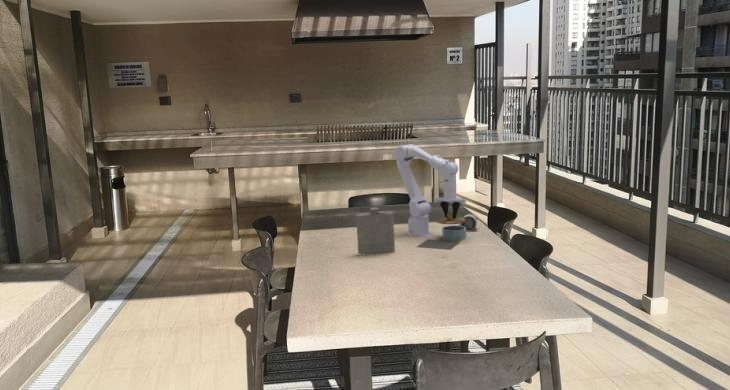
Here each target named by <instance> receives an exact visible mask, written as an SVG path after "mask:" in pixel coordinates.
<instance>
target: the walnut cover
mask: <svg viewBox="0 0 730 390" xmlns="http://www.w3.org/2000/svg"><path fill="white" fill-rule="evenodd" d="M464 222H465V219H463V217H462V218H461V217H456V218H455V219H453V212H448V213H447V218H445V217H440V218H437V219H436V222H435V223H437V224H442V225H459V224H461V223H464Z"/></svg>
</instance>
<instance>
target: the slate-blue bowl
mask: <svg viewBox="0 0 730 390" xmlns="http://www.w3.org/2000/svg"><path fill="white" fill-rule="evenodd" d="M441 232H442V233H441V237H442V239H444V240H447V241H458V240H459V241H460V240H463V239H466V238H467V231H466V227H464V226H457V224H453V225H446V226H443V227H442V228H441Z"/></svg>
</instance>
